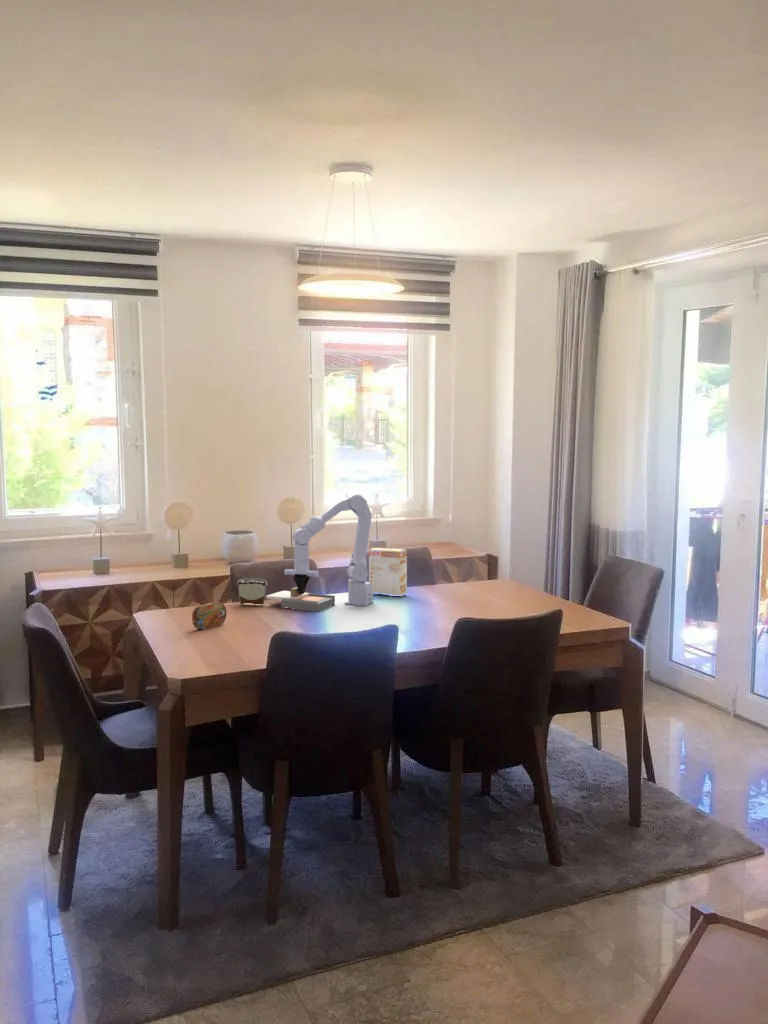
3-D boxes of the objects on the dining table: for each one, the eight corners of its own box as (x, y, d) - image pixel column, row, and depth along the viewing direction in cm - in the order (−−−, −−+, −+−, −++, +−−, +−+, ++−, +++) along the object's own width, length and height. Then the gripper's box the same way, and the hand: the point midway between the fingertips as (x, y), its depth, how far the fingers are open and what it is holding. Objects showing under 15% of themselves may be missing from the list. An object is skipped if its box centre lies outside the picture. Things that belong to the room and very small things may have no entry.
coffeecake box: (407, 595, 366) (407, 549, 364) (398, 597, 360) (399, 551, 358) (377, 591, 374) (377, 546, 372) (368, 594, 367) (368, 548, 366)
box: (334, 605, 342) (334, 595, 342) (317, 611, 330) (317, 601, 329) (299, 601, 349) (299, 592, 349) (281, 608, 336) (281, 598, 336)
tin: (197, 631, 295) (196, 607, 294) (190, 630, 297) (190, 606, 296) (227, 624, 308) (227, 600, 307) (220, 622, 309) (220, 599, 309)
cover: (309, 595, 346) (309, 585, 346) (292, 600, 334) (292, 590, 334) (283, 593, 351) (283, 583, 351) (266, 598, 339) (266, 588, 339)
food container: (270, 603, 346) (270, 578, 345) (267, 606, 340) (267, 581, 339) (240, 602, 348) (240, 577, 347) (236, 605, 341) (236, 580, 341)
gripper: (280, 559, 338) (280, 593, 339) (312, 562, 332) (312, 596, 333) (289, 557, 345) (289, 591, 346) (321, 559, 339) (321, 593, 340)
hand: (301, 593), depth 340 cm, fingers closed
